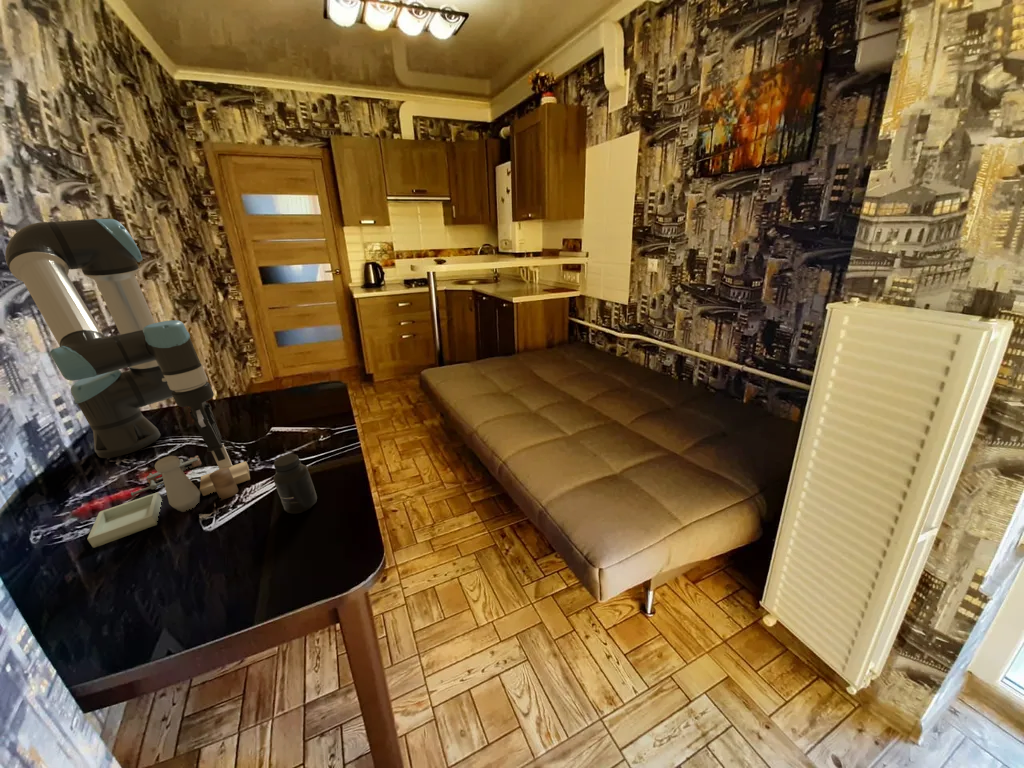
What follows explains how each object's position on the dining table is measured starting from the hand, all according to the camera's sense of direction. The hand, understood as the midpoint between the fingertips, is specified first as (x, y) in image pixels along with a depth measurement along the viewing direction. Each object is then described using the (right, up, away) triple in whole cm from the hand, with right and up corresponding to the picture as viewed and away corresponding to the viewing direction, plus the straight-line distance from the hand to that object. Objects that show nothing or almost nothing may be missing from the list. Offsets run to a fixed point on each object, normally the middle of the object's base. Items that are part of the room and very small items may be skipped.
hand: (226, 468), depth 106 cm
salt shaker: (-1, -7, -11) cm, 13 cm away
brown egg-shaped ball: (+6, -4, -8) cm, 11 cm away
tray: (-11, -9, -15) cm, 21 cm away
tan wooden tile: (+2, -3, -3) cm, 5 cm away
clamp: (-17, -3, +2) cm, 17 cm away
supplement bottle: (+27, -5, -14) cm, 31 cm away
